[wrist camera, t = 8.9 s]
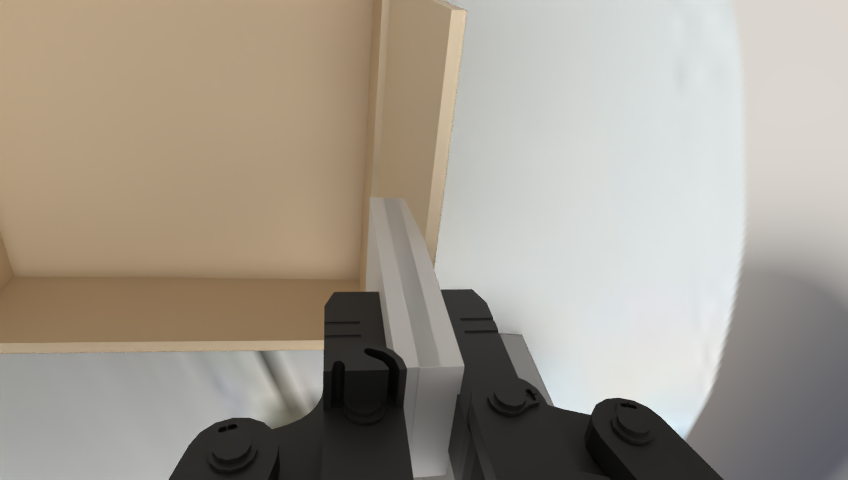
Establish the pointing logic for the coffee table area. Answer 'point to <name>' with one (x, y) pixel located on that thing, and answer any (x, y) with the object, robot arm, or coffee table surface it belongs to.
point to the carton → (185, 170)
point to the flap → (420, 107)
